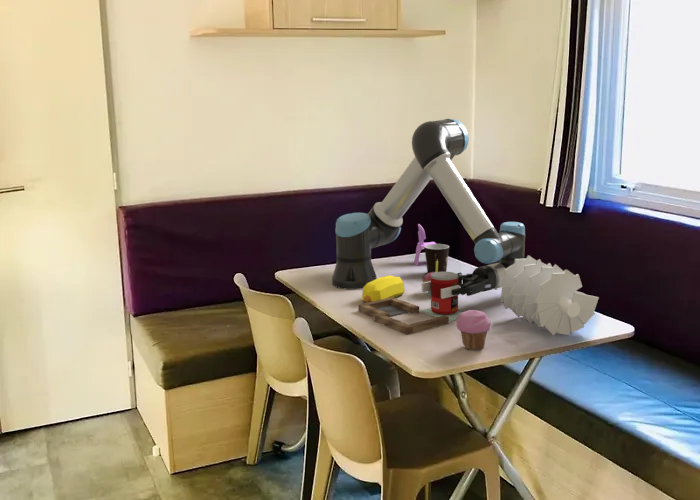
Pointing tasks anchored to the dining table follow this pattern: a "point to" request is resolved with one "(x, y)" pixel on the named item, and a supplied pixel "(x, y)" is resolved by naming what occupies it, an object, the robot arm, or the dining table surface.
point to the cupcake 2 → (473, 328)
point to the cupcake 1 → (428, 276)
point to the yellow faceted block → (383, 288)
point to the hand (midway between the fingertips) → (431, 290)
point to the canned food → (438, 283)
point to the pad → (451, 316)
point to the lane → (393, 307)
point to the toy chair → (421, 243)
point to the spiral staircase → (546, 296)
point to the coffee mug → (436, 257)
